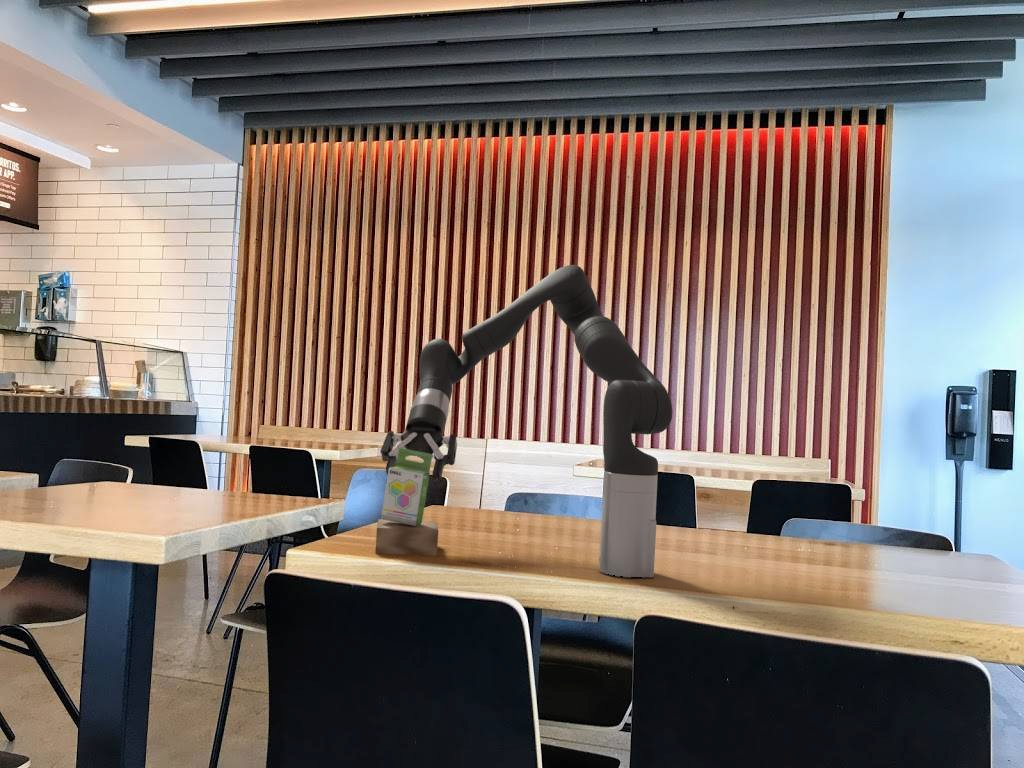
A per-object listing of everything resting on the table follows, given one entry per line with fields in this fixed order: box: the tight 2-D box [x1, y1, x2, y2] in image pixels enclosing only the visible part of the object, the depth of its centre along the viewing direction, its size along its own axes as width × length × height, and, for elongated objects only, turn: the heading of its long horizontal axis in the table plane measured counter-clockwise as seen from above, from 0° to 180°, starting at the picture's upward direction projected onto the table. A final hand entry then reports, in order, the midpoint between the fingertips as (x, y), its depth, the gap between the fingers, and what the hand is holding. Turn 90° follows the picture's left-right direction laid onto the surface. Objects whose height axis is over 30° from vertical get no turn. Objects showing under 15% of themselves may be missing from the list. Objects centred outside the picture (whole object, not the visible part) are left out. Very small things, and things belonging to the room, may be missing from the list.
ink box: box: [380, 448, 433, 526], centre depth 150 cm, size 7×4×13 cm, turn 77°
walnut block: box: [374, 518, 439, 556], centre depth 150 cm, size 11×11×5 cm
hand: (412, 476), depth 151 cm, fingers open, 8 cm apart
